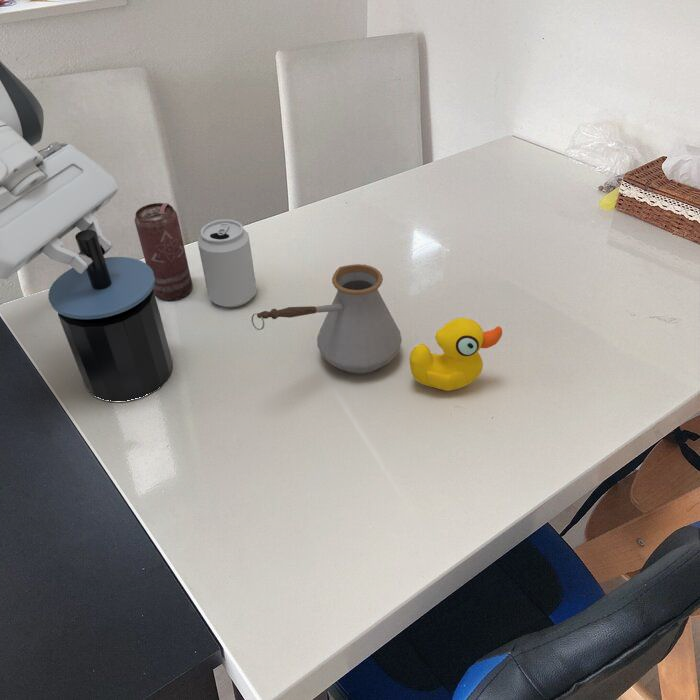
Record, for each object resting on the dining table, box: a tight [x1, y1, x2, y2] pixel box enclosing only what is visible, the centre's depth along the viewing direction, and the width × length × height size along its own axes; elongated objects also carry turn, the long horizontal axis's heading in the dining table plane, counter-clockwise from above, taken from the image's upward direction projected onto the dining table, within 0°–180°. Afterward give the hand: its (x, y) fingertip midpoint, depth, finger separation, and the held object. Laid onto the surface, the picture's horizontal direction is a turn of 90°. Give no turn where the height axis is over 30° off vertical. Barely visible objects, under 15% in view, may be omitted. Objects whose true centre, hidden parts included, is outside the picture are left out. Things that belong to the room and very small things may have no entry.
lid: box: [48, 230, 155, 319], centre depth 81 cm, size 13×13×8 cm
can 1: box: [134, 202, 193, 302], centre depth 103 cm, size 6×6×14 cm
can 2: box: [197, 218, 258, 309], centre depth 102 cm, size 8×8×12 cm
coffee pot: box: [251, 263, 403, 375], centre depth 87 cm, size 21×12×15 cm, turn 131°
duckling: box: [409, 317, 503, 391], centre depth 86 cm, size 11×5×10 cm, turn 93°
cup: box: [57, 289, 174, 401], centre depth 89 cm, size 12×12×12 cm
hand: (97, 260), depth 81 cm, fingers closed on lid, 2 cm apart
